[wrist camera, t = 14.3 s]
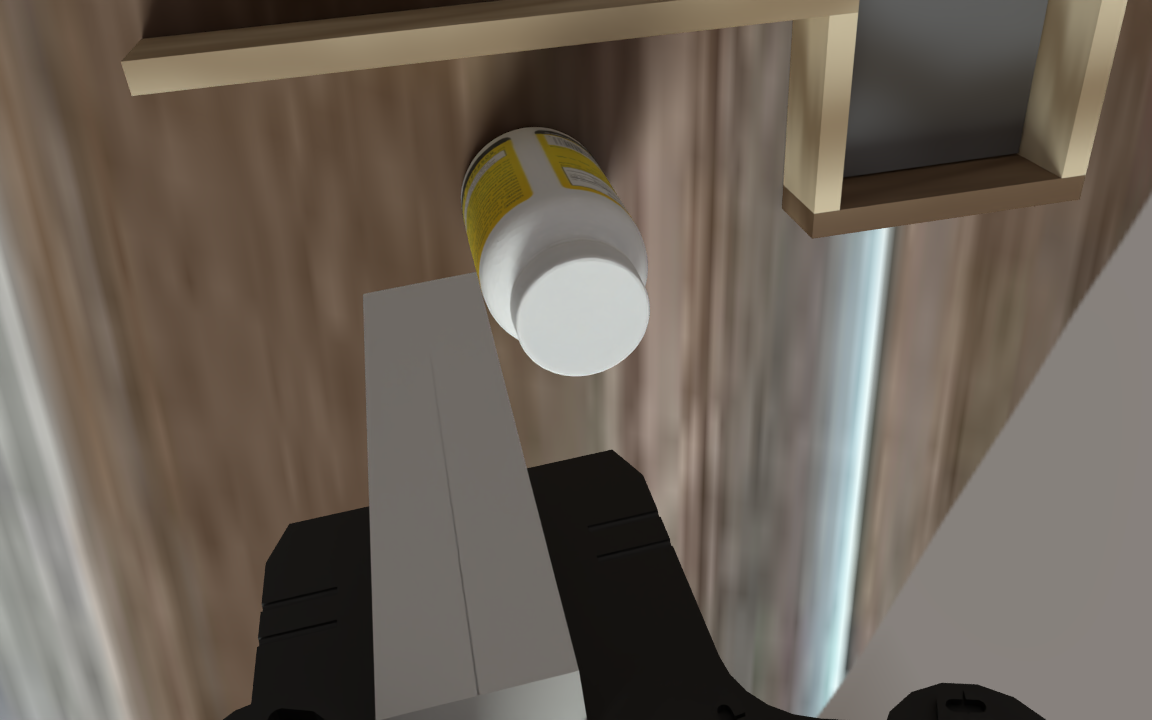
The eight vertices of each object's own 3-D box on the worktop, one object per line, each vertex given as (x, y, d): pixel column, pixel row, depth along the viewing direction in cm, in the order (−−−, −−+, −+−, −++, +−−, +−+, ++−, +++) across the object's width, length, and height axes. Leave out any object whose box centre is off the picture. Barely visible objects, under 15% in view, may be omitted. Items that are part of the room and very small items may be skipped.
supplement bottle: (472, 271, 36) (504, 412, 28) (447, 136, 33) (474, 250, 25) (608, 246, 37) (678, 377, 28) (595, 112, 34) (668, 214, 25)
